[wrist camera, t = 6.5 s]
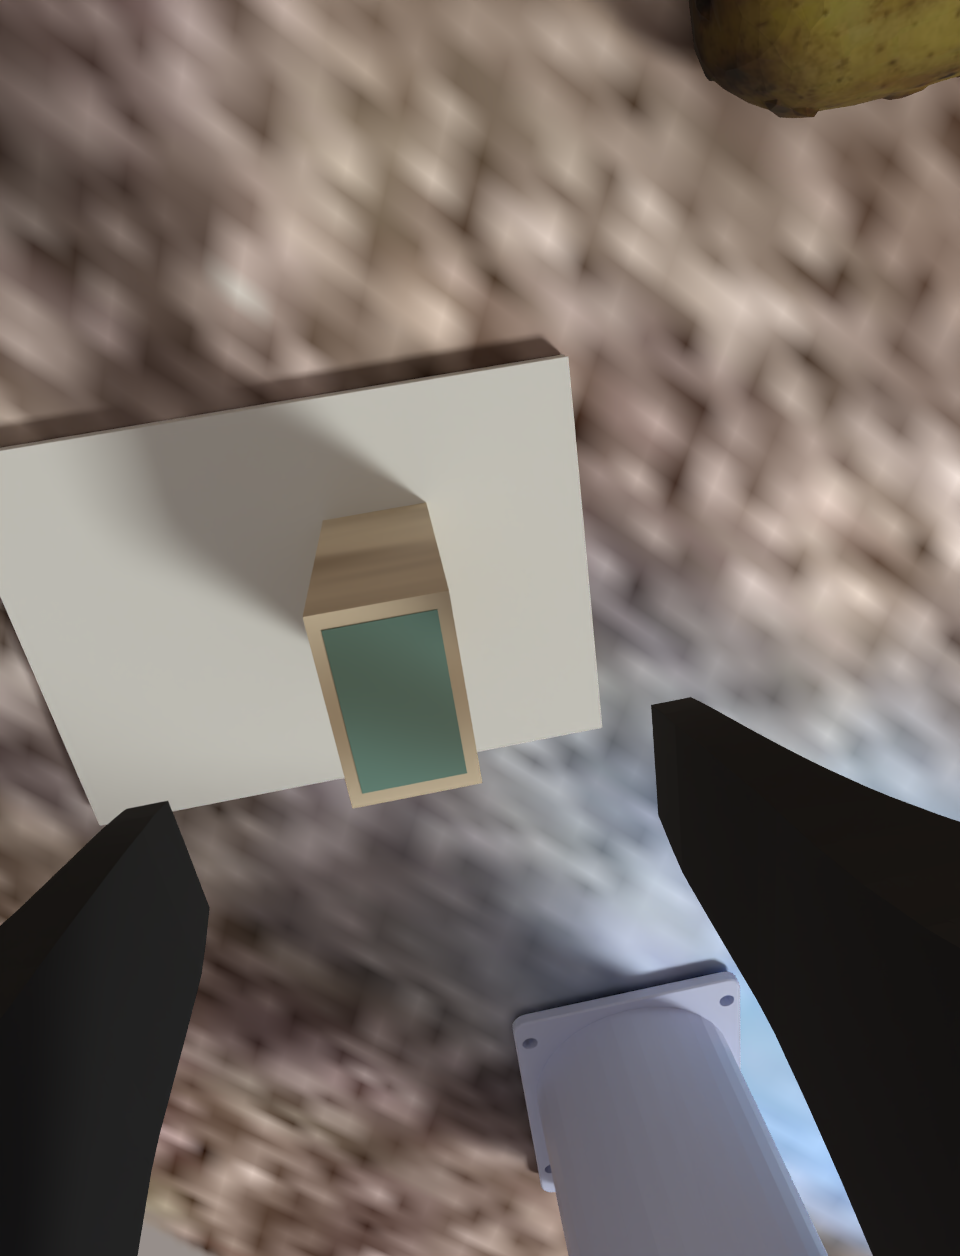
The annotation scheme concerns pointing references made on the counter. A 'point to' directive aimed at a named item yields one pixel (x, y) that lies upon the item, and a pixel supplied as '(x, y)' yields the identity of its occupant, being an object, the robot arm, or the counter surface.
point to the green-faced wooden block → (389, 657)
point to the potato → (825, 50)
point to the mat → (289, 574)
